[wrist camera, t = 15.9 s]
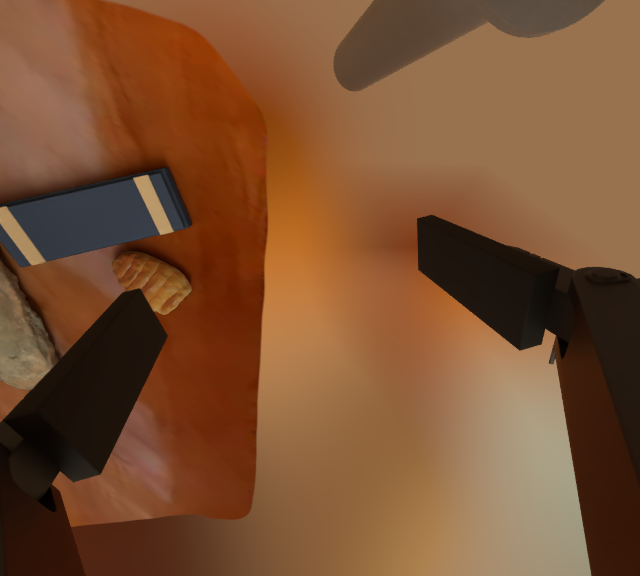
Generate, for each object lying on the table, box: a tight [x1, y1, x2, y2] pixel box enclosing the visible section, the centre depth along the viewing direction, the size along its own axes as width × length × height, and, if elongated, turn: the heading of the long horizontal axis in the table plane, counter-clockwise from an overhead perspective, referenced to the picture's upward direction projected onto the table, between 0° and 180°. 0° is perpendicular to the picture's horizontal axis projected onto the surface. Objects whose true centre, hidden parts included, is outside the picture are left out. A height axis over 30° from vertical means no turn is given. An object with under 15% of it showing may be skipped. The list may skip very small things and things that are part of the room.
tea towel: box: [0, 167, 192, 267], centre depth 33 cm, size 20×7×3 cm, turn 101°
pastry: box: [112, 251, 192, 315], centre depth 37 cm, size 9×7×4 cm
